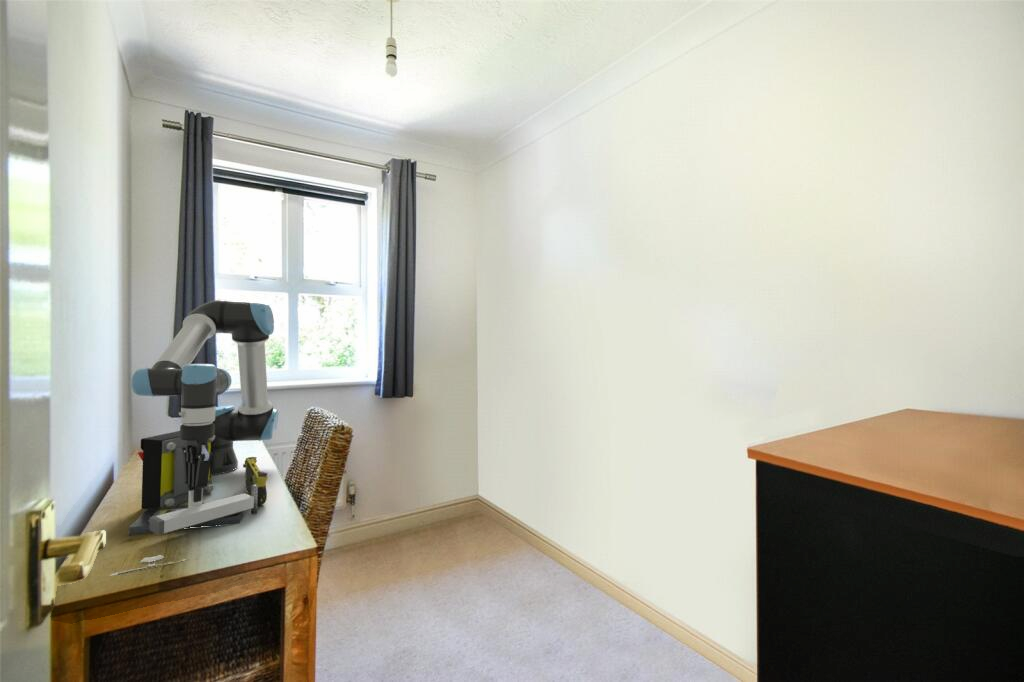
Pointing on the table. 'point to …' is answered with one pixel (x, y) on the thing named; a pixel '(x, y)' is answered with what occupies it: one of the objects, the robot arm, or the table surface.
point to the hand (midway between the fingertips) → (194, 513)
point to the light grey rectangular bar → (200, 513)
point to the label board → (144, 520)
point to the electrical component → (166, 471)
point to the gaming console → (255, 479)
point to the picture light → (144, 567)
